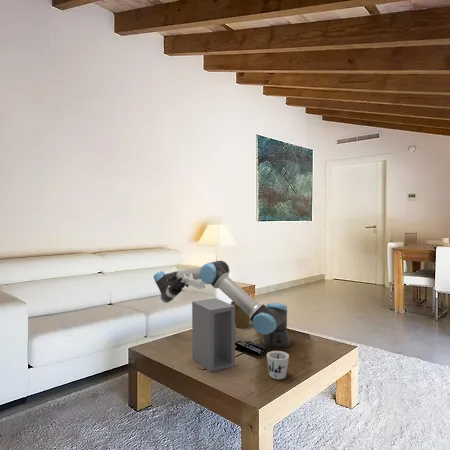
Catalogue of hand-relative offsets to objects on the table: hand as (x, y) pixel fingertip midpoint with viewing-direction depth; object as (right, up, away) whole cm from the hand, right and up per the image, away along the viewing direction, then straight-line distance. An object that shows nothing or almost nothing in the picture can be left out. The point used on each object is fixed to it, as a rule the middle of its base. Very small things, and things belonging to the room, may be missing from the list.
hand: (188, 275), depth 214 cm
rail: (+2, -4, -3) cm, 5 cm away
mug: (+46, -42, -35) cm, 71 cm away
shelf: (+15, -41, -22) cm, 49 cm away
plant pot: (+32, -38, +36) cm, 61 cm away
